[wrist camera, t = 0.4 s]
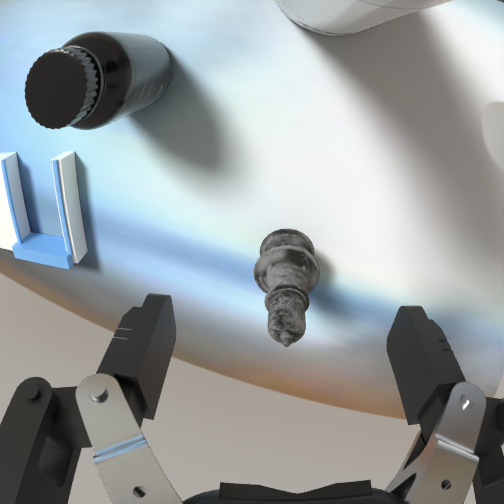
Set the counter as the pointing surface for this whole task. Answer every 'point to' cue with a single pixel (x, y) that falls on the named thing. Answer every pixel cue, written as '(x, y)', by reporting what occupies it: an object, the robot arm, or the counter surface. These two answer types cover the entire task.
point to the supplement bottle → (96, 80)
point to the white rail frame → (16, 221)
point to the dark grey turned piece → (286, 282)
